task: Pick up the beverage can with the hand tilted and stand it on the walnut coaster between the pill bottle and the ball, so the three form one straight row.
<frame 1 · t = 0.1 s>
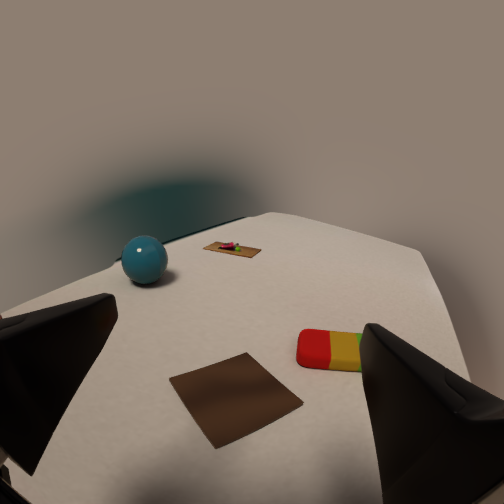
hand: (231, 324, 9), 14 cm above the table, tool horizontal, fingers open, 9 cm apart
board: (232, 250, 64), on the table
ball: (146, 283, 44), on the table
popsicle: (359, 359, 28), on the table
coaster: (233, 395, 23), on the table
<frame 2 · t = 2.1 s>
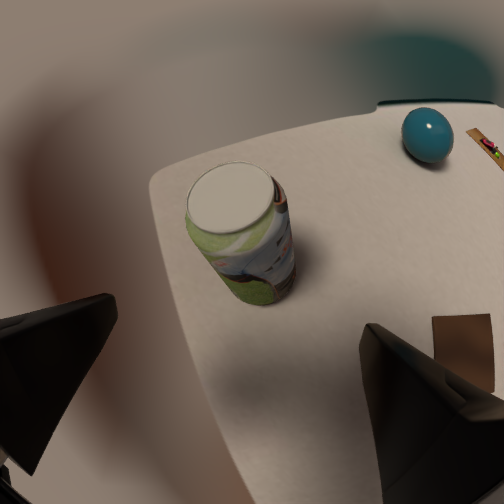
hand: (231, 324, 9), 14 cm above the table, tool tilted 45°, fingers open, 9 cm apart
board: (490, 150, 35), on the table
ball: (417, 156, 33), on the table
beverage can: (253, 278, 25), on the table
coaster: (466, 358, 19), on the table
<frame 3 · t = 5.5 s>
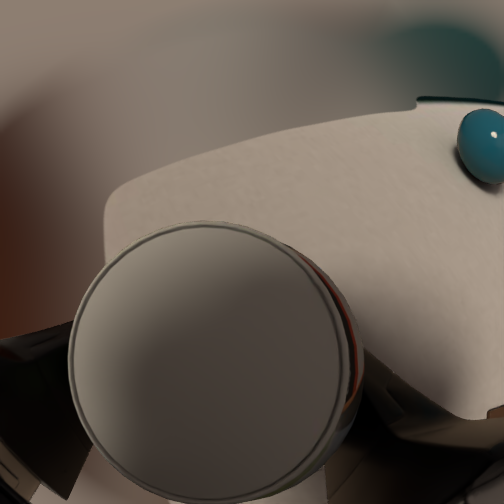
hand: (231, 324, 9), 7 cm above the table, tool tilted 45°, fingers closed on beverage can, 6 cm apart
ball: (472, 172, 22), on the table
beverage can: (250, 376, 14), on the table, touching gripper
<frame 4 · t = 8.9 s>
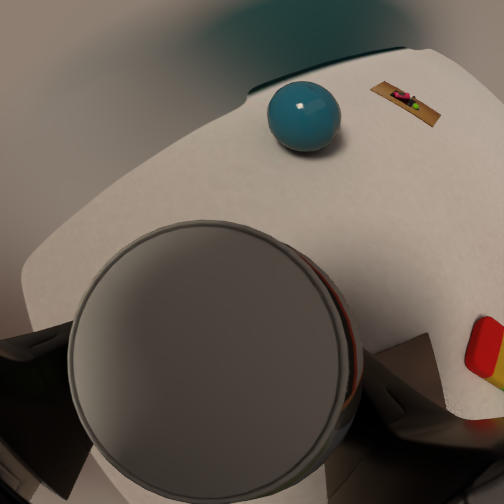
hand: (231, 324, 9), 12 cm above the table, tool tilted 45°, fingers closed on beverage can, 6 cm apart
board: (406, 103, 35), on the table
ball: (301, 144, 30), on the table
beverage can: (250, 376, 14), point 5 cm above the table, touching gripper
coaster: (397, 400, 17), on the table
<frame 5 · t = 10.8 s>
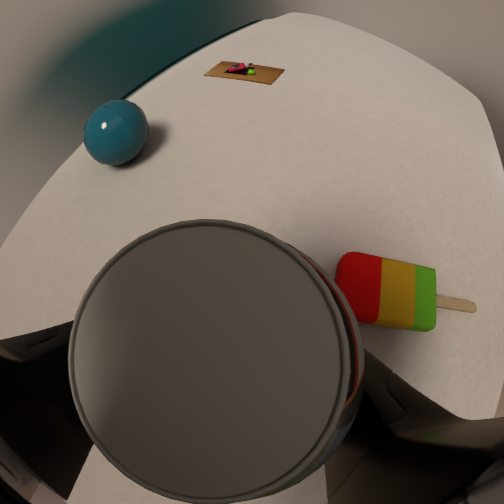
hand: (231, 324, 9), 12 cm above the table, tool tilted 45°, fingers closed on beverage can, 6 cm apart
board: (244, 72, 39), on the table
ball: (127, 156, 30), on the table
popsicle: (410, 301, 21), on the table
beverage can: (250, 376, 14), point 5 cm above the table, touching gripper
when the fingers open (7 cm above the table, at t = 12.6 s): beverage can stays where it is, resting on coaster.
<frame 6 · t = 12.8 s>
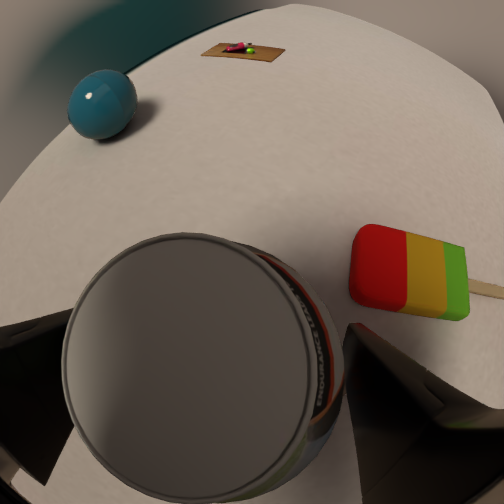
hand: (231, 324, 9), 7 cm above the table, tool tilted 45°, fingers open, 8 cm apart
board: (243, 52, 35), on the table
ball: (114, 132, 26), on the table
popsicle: (438, 285, 17), on the table
beverage can: (251, 379, 14), resting on coaster
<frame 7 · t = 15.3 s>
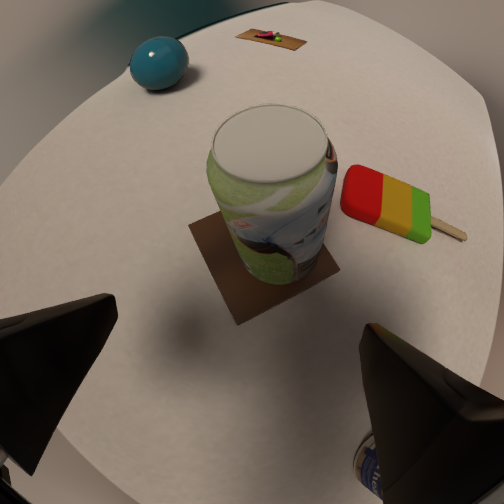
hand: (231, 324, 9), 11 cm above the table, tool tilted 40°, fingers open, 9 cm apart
board: (271, 39, 40), on the table
pill bottle: (380, 456, 15), on the table
ball: (164, 86, 32), on the table
popsicle: (408, 218, 24), on the table
beverage can: (268, 252, 21), resting on coaster
coaster: (262, 248, 22), on the table
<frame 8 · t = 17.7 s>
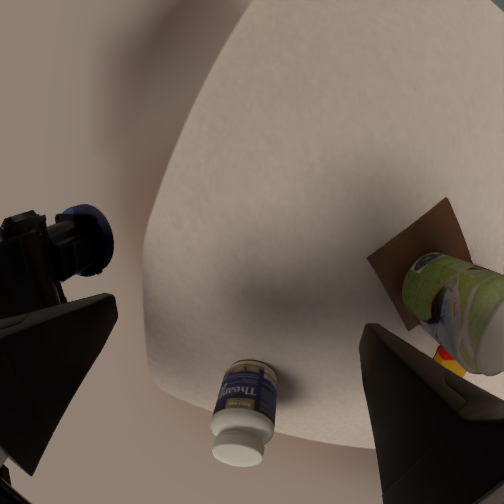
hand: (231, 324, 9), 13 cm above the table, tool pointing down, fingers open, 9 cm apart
pill bottle: (251, 376, 26), on the table
popsicle: (437, 376, 24), on the table
beverage can: (426, 274, 20), resting on coaster
coaster: (428, 267, 20), on the table
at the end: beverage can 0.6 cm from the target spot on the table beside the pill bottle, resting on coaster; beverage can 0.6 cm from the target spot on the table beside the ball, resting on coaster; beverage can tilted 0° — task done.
